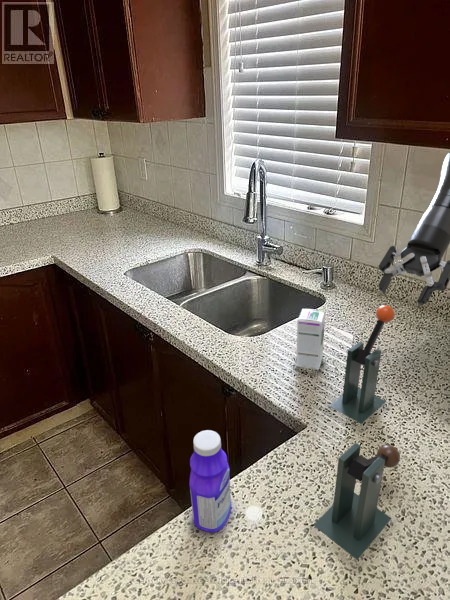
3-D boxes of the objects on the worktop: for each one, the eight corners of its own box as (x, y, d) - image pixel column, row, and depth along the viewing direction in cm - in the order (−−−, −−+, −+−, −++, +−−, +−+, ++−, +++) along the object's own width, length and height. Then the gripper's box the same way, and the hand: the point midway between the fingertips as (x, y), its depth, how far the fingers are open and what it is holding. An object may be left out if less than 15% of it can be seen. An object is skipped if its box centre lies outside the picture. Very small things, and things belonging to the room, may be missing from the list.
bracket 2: (348, 493, 77) (356, 428, 70) (390, 523, 72) (404, 455, 65) (312, 530, 71) (318, 462, 64) (356, 565, 66) (367, 495, 59)
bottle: (221, 542, 70) (216, 461, 62) (187, 532, 72) (179, 451, 64) (236, 504, 76) (233, 426, 68) (205, 495, 78) (199, 418, 70)
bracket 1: (353, 389, 102) (360, 333, 96) (385, 405, 97) (395, 348, 90) (327, 410, 96) (333, 352, 90) (360, 428, 91) (368, 368, 84)
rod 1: (383, 306, 94) (378, 300, 91) (399, 311, 91) (394, 306, 89) (356, 362, 93) (349, 358, 90) (371, 369, 91) (365, 365, 88)
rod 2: (379, 457, 76) (386, 438, 75) (399, 469, 73) (406, 450, 73) (341, 473, 66) (349, 452, 66) (363, 488, 64) (371, 465, 63)
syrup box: (319, 374, 108) (323, 321, 101) (294, 370, 109) (297, 318, 103) (322, 361, 113) (326, 310, 106) (299, 357, 114) (301, 307, 108)
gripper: (398, 216, 98) (364, 280, 96) (466, 230, 88) (429, 301, 87) (406, 234, 103) (374, 294, 102) (471, 248, 94) (436, 315, 92)
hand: (400, 297), depth 94 cm, fingers open, 8 cm apart
